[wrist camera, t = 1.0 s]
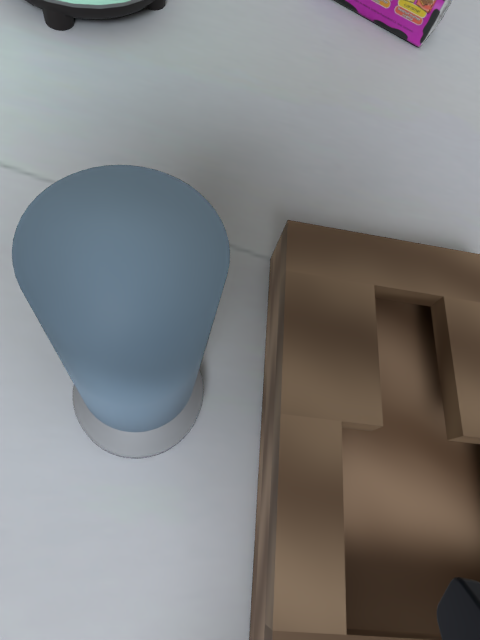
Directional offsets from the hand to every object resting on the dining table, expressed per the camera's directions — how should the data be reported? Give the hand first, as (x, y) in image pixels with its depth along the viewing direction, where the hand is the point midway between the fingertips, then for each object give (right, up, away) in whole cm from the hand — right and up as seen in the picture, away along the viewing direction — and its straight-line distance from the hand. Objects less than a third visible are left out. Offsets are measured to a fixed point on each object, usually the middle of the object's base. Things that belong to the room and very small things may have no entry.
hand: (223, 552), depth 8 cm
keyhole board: (+8, -2, +15) cm, 17 cm away
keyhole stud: (-5, +1, +14) cm, 14 cm away
